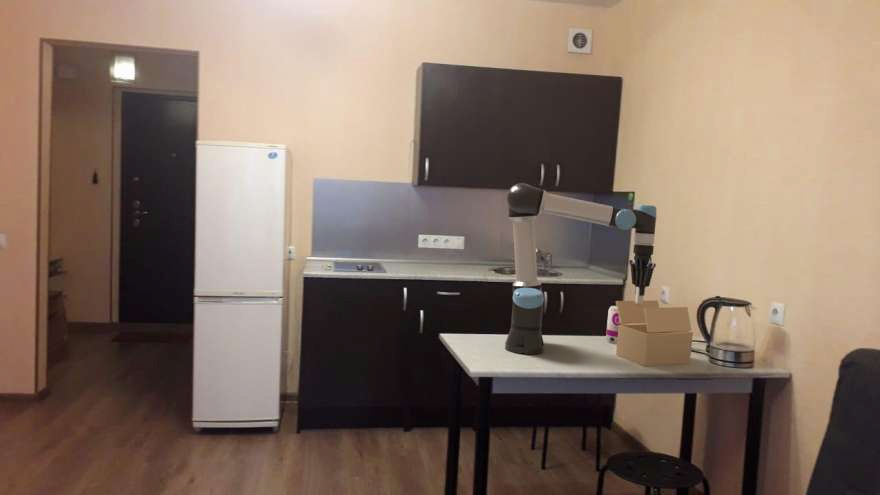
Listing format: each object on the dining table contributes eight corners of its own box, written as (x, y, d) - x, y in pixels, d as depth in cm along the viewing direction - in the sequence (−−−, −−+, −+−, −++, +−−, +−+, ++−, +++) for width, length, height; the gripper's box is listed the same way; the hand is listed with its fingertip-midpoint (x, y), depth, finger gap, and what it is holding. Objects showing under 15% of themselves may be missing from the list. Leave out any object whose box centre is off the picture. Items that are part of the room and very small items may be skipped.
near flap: (647, 332, 234) (648, 332, 234) (643, 308, 236) (644, 307, 236) (690, 330, 242) (691, 330, 242) (686, 307, 245) (687, 307, 244)
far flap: (616, 300, 251) (615, 301, 251) (621, 323, 248) (620, 323, 248) (657, 300, 259) (656, 300, 259) (662, 322, 256) (661, 322, 256)
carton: (644, 366, 234) (647, 334, 233) (616, 355, 249) (618, 324, 248) (689, 363, 243) (692, 332, 242) (660, 352, 258) (662, 323, 257)
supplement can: (626, 345, 268) (629, 310, 266) (606, 343, 269) (609, 308, 268) (624, 341, 276) (627, 306, 274) (605, 339, 277) (608, 305, 276)
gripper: (662, 246, 248) (657, 306, 249) (640, 243, 259) (635, 300, 261) (647, 245, 245) (642, 306, 246) (625, 242, 256) (620, 300, 258)
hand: (638, 303), depth 254 cm, fingers closed
